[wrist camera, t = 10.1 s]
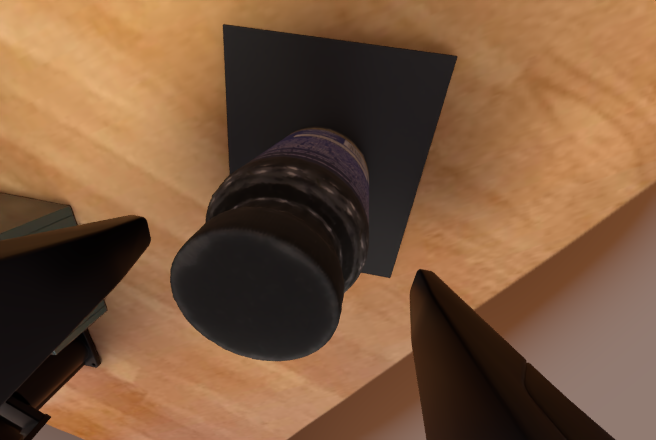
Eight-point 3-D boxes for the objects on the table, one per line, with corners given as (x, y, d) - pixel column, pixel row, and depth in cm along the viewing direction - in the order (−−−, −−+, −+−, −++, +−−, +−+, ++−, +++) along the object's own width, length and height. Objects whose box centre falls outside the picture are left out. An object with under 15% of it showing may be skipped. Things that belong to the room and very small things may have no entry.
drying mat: (389, 274, 20) (390, 278, 20) (235, 244, 21) (232, 248, 20) (455, 56, 13) (458, 55, 13) (226, 25, 14) (222, 24, 14)
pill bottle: (267, 124, 16) (103, 189, 6) (372, 125, 15) (377, 201, 5) (277, 218, 19) (176, 366, 9) (366, 222, 18) (363, 391, 8)
